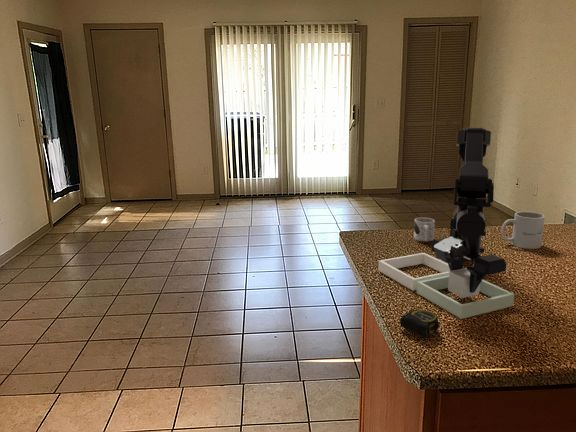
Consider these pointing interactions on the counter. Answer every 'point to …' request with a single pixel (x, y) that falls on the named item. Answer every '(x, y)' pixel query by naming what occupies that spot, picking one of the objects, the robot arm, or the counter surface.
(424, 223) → the mug
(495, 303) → the bin
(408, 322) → the tape measure
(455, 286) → the stone cube
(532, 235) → the mug
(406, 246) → the counter surface
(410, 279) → the bin
